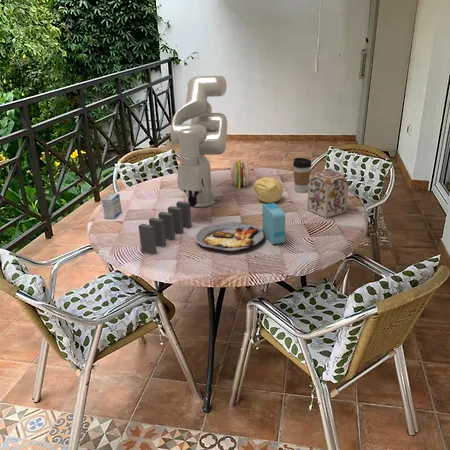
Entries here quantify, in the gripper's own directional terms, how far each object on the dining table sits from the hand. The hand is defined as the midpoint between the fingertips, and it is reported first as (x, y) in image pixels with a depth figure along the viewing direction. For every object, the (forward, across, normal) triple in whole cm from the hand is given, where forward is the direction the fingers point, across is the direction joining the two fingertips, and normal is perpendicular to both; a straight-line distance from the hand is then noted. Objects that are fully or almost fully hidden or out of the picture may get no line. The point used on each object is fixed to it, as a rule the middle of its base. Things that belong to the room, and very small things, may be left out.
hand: (192, 205), depth 181 cm
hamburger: (+6, -1, +48) cm, 48 cm away
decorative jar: (+7, +46, +30) cm, 56 cm away
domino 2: (+7, 0, -25) cm, 26 cm away
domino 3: (+7, 0, -19) cm, 20 cm away
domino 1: (+7, 0, -31) cm, 31 cm away
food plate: (+7, +22, -10) cm, 25 cm away
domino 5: (+7, 0, -7) cm, 9 cm away
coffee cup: (+6, +29, +51) cm, 59 cm away
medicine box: (+7, -35, -9) cm, 36 cm away
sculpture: (+6, +20, +33) cm, 39 cm away
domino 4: (+7, 0, -13) cm, 14 cm away
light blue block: (+7, +36, -3) cm, 37 cm away
